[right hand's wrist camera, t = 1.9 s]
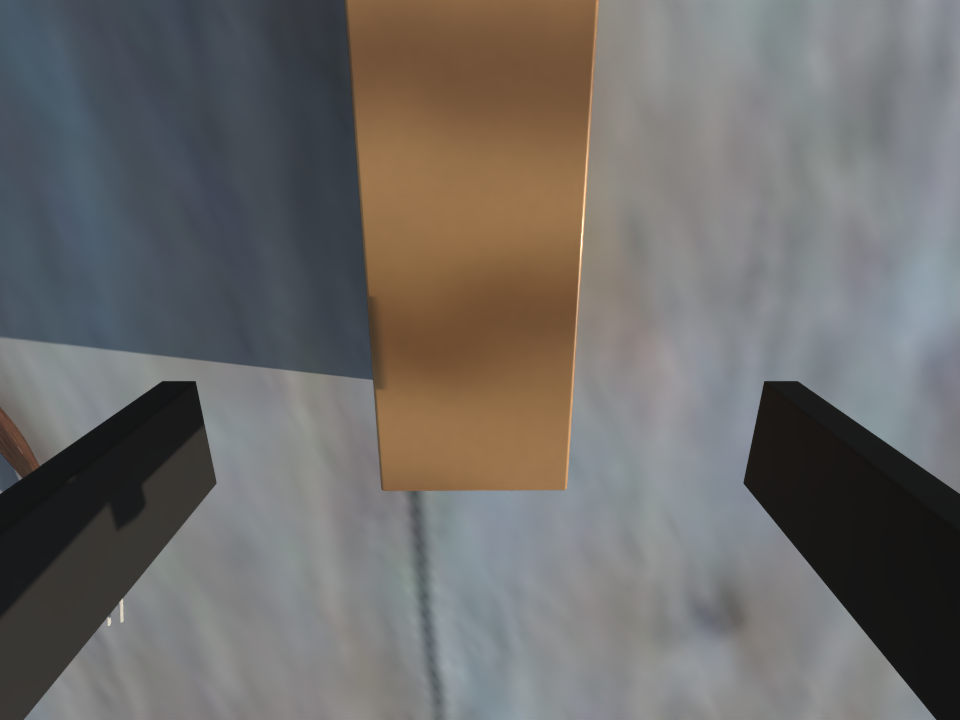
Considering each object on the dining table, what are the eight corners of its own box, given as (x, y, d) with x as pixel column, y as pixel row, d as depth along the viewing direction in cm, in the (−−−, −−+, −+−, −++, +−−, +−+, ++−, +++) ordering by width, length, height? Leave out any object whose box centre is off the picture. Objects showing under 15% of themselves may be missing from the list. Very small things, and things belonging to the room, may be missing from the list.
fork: (-34, 312, 23) (-80, 326, 21) (149, 591, 28) (125, 622, 26) (-86, 329, 23) (-136, 344, 21) (105, 603, 28) (79, 634, 26)
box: (537, 384, 24) (567, 491, 16) (412, 385, 24) (380, 492, 16) (560, -200, 17) (633, -517, 9) (384, -201, 17) (304, -518, 9)
